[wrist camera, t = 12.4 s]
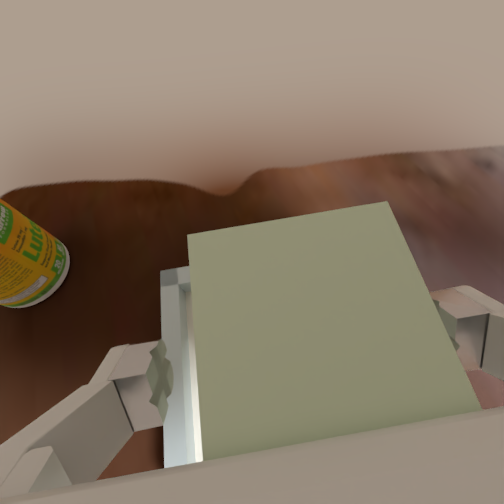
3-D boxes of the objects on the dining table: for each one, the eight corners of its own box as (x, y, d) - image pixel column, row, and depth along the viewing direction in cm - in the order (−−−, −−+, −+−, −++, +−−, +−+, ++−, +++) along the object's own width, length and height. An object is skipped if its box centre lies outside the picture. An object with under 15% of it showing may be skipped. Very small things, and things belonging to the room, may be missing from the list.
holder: (351, 257, 19) (364, 235, 17) (427, 474, 14) (464, 494, 11) (175, 287, 19) (160, 270, 16) (186, 520, 14) (165, 552, 11)
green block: (315, 315, 16) (387, 201, 6) (338, 404, 14) (495, 438, 4) (237, 329, 16) (187, 235, 6) (250, 420, 14) (204, 492, 4)
